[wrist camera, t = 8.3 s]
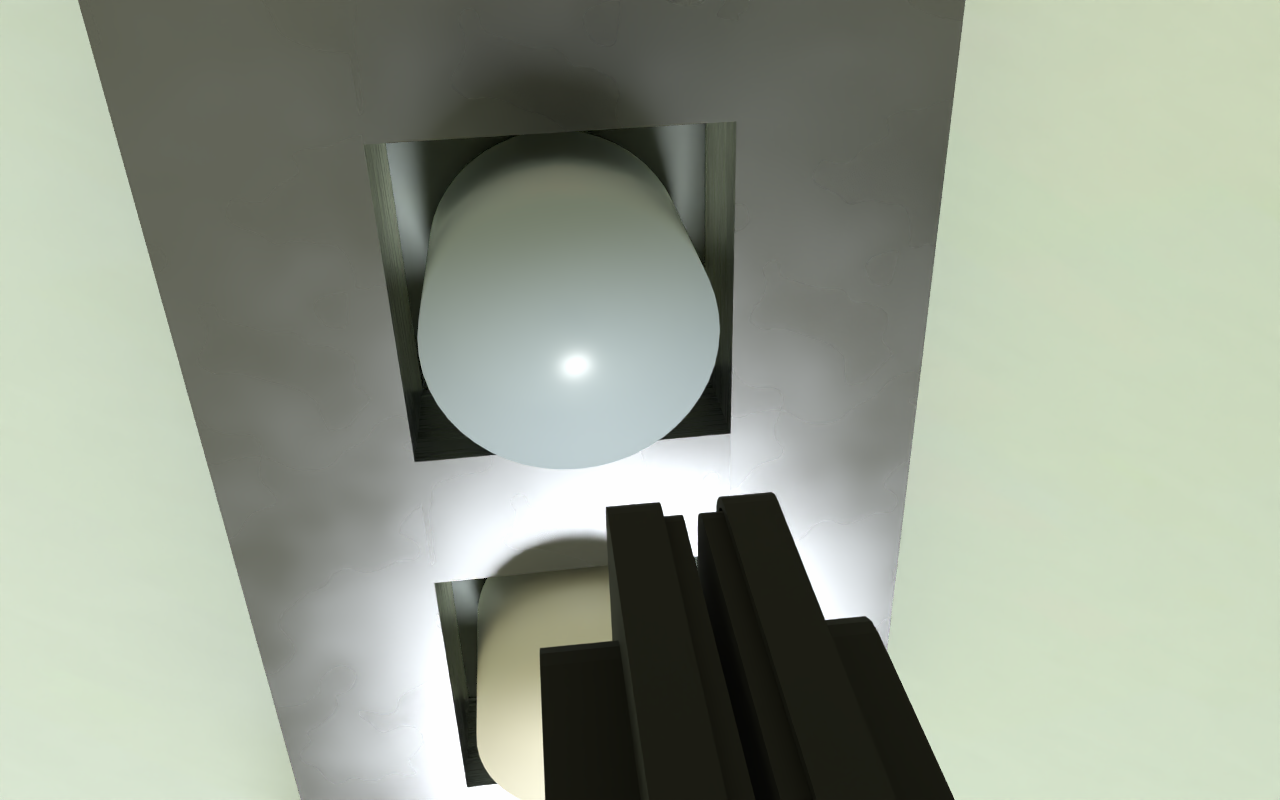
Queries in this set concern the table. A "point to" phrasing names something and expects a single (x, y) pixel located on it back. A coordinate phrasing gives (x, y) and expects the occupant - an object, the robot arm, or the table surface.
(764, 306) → the panel
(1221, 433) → the table surface
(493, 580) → the ivory button
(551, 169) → the slate button
